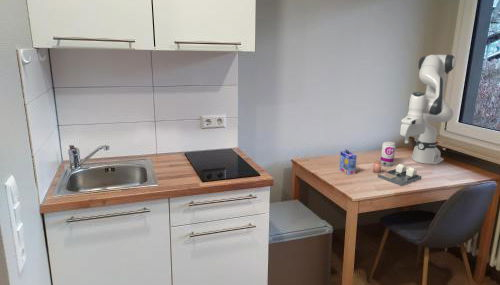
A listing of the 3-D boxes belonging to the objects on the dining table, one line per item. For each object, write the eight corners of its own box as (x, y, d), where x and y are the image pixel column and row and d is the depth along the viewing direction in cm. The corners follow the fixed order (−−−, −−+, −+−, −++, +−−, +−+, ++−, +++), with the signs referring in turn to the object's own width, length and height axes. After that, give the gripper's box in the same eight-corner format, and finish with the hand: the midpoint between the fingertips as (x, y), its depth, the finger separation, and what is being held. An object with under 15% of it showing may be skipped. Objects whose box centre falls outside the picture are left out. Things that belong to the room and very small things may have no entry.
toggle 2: (409, 173, 219) (410, 166, 218) (416, 175, 216) (417, 168, 215) (405, 174, 217) (407, 167, 216) (412, 176, 214) (413, 169, 213)
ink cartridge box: (338, 169, 230) (340, 147, 226) (345, 168, 232) (348, 147, 228) (347, 175, 221) (349, 152, 217) (355, 174, 223) (357, 151, 219)
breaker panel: (397, 171, 229) (397, 166, 228) (421, 179, 217) (421, 174, 216) (377, 177, 219) (378, 172, 218) (401, 185, 206) (401, 180, 205)
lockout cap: (375, 170, 230) (377, 160, 228) (382, 172, 227) (383, 162, 225) (371, 171, 228) (372, 161, 226) (377, 173, 224) (378, 163, 222)
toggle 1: (399, 170, 225) (400, 163, 224) (405, 172, 222) (406, 165, 220) (395, 171, 223) (396, 164, 222) (401, 173, 220) (402, 166, 218)
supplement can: (394, 167, 237) (397, 145, 233) (380, 166, 239) (383, 144, 235) (391, 163, 245) (394, 141, 241) (379, 162, 246) (381, 140, 242)
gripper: (419, 117, 226) (416, 139, 230) (399, 120, 215) (396, 142, 219) (429, 119, 221) (426, 141, 225) (409, 122, 210) (405, 145, 214)
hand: (411, 142), depth 222 cm, fingers open, 8 cm apart
